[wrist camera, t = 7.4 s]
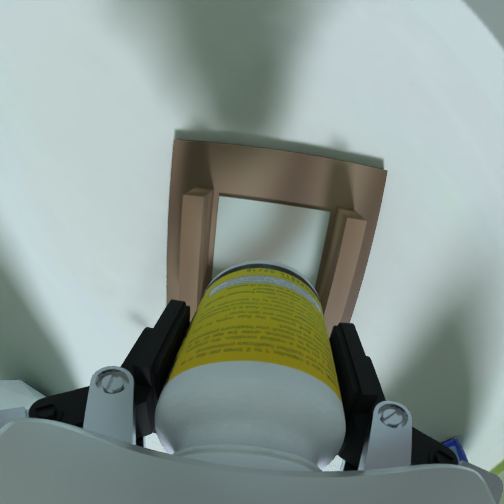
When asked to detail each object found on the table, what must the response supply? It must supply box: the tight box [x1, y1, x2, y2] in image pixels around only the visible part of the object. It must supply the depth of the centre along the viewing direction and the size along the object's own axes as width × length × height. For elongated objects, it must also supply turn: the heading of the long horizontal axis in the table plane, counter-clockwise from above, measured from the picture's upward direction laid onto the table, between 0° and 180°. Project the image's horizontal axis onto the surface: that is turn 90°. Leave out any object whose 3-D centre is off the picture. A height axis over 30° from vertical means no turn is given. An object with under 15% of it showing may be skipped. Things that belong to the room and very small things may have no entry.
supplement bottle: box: [155, 260, 346, 472], centre depth 9 cm, size 5×5×10 cm
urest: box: [167, 140, 387, 338], centre depth 20 cm, size 14×14×4 cm
